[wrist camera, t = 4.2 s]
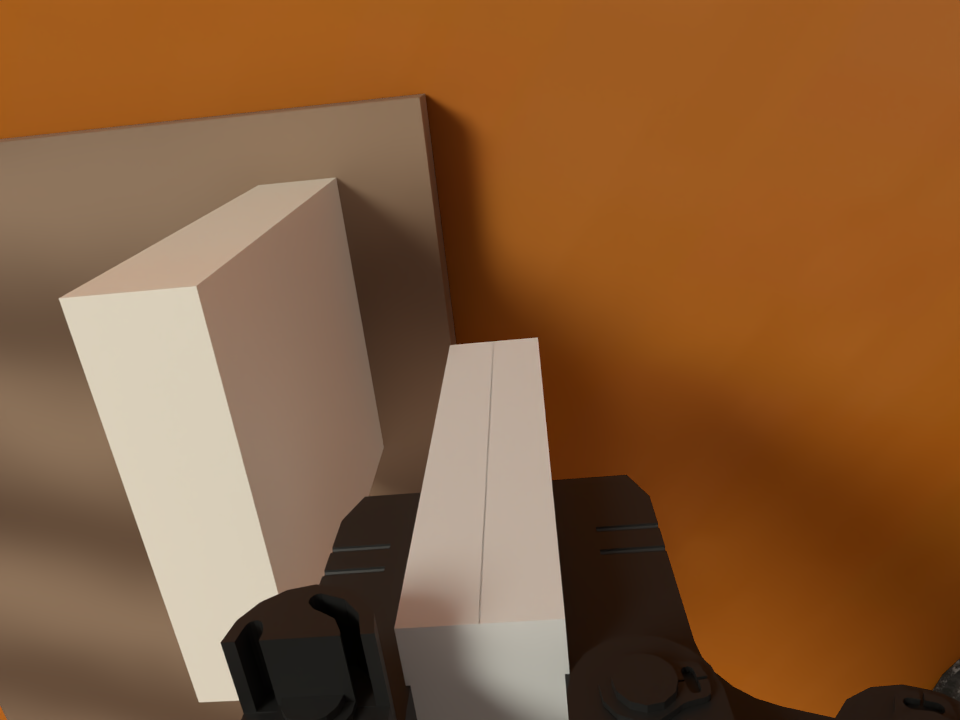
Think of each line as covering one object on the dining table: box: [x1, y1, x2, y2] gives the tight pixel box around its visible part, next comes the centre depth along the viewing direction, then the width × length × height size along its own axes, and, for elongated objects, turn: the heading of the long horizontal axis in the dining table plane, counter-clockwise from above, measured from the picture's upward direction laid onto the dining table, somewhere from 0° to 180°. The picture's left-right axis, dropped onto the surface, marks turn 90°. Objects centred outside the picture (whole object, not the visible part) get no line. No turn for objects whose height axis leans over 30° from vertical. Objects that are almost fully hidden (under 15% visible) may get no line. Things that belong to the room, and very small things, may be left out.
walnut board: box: [0, 94, 456, 720], centre depth 21 cm, size 21×16×1 cm
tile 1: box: [59, 178, 384, 702], centre depth 14 cm, size 7×2×8 cm, turn 6°
